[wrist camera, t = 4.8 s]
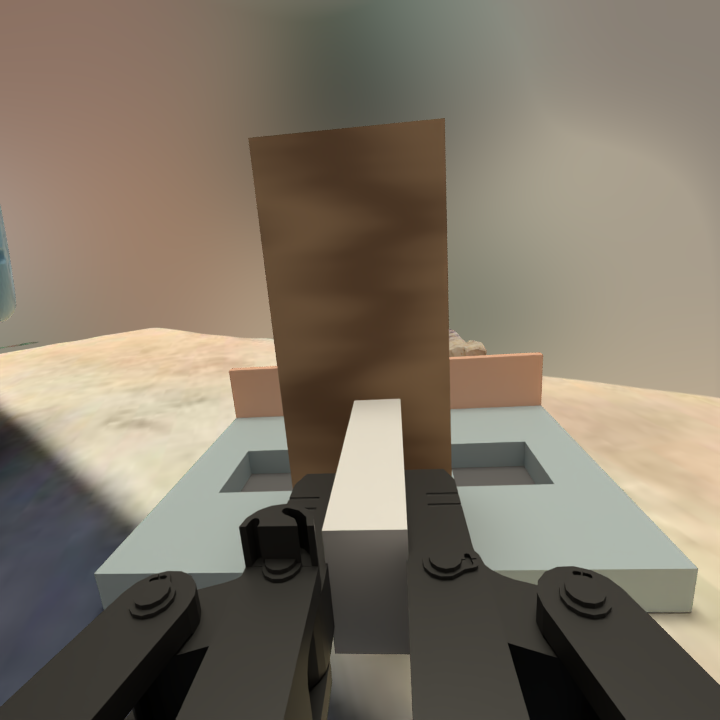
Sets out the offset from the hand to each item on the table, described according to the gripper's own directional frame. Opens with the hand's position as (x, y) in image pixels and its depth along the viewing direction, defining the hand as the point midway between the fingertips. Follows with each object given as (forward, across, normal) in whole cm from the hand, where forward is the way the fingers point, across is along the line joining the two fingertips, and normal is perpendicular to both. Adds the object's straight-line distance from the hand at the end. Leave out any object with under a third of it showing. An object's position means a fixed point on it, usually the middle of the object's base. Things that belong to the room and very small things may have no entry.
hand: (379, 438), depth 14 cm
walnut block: (+4, 0, -6) cm, 8 cm away
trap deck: (+9, -1, -8) cm, 13 cm away
